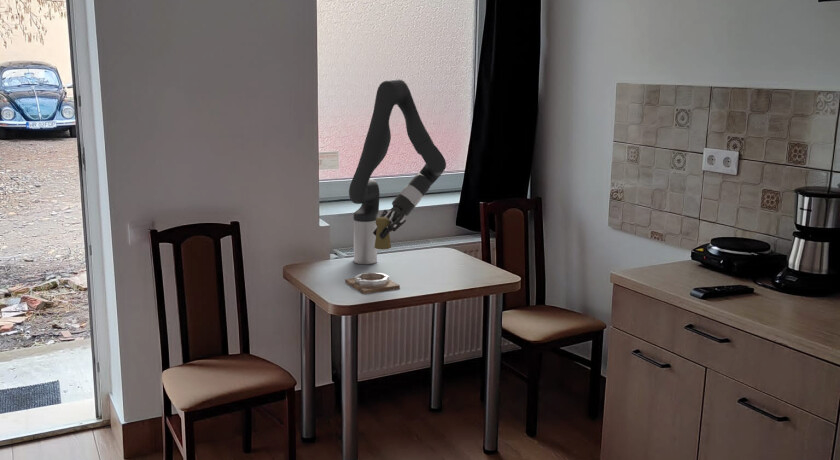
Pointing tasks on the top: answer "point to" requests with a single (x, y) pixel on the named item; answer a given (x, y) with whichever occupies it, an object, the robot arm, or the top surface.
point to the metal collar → (369, 283)
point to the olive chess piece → (380, 224)
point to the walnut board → (365, 289)
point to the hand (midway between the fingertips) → (377, 236)
